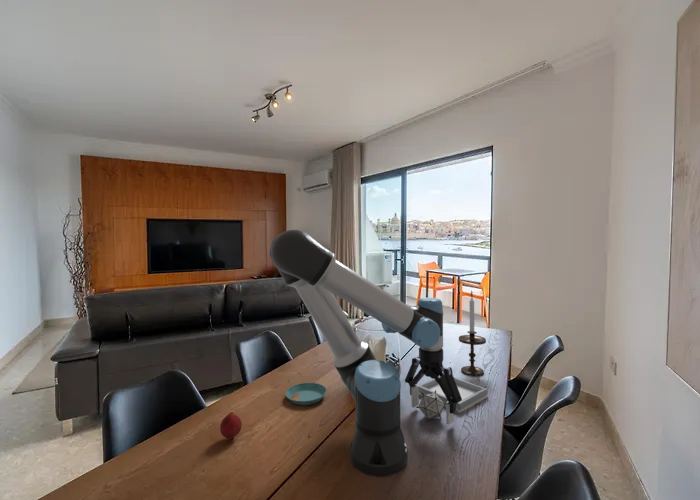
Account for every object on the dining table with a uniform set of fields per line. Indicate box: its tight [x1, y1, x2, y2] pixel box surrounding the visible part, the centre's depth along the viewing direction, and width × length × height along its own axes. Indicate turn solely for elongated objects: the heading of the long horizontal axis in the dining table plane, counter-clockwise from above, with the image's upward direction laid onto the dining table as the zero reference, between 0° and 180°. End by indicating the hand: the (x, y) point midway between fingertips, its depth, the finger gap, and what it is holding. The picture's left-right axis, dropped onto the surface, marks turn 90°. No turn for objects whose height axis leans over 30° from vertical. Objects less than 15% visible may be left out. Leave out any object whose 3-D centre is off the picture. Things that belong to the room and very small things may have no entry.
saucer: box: [285, 382, 328, 406], centre depth 122 cm, size 15×15×3 cm
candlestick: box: [458, 289, 487, 377], centre depth 142 cm, size 11×11×35 cm
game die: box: [415, 390, 446, 423], centre depth 106 cm, size 9×8×10 cm
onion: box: [219, 410, 243, 440], centre depth 97 cm, size 6×6×8 cm
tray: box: [417, 376, 488, 414], centre depth 122 cm, size 17×18×3 cm
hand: (431, 413), depth 106 cm, fingers open, 13 cm apart
